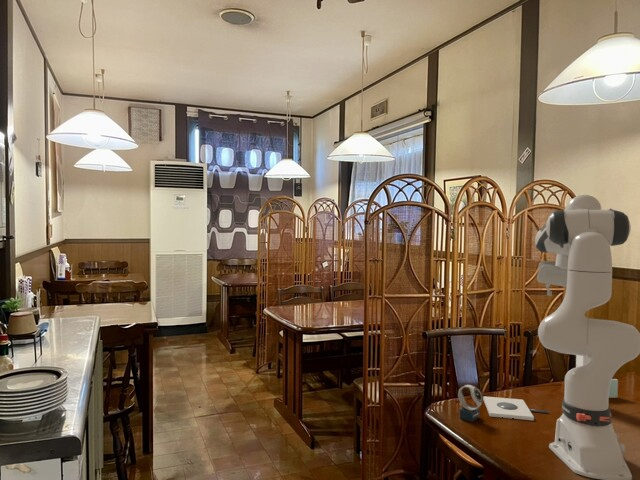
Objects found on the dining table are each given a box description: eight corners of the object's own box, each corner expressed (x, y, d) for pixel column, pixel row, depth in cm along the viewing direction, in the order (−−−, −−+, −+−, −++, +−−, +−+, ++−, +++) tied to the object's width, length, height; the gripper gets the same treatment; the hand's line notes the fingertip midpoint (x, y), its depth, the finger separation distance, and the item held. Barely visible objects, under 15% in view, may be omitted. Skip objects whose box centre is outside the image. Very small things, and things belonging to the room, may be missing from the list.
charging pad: (555, 422, 151) (555, 418, 151) (490, 416, 156) (490, 412, 156) (542, 404, 167) (542, 401, 167) (483, 399, 171) (483, 396, 171)
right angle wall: (617, 399, 175) (617, 379, 175) (587, 399, 174) (588, 380, 174) (596, 388, 187) (596, 370, 187) (568, 388, 186) (568, 370, 186)
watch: (477, 424, 149) (478, 391, 149) (454, 416, 155) (455, 385, 155) (484, 419, 153) (485, 387, 153) (462, 412, 159) (463, 381, 159)
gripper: (538, 259, 184) (532, 292, 185) (596, 268, 172) (590, 303, 173) (541, 259, 189) (535, 292, 190) (597, 268, 177) (591, 303, 178)
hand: (562, 297), depth 181 cm, fingers open, 8 cm apart
